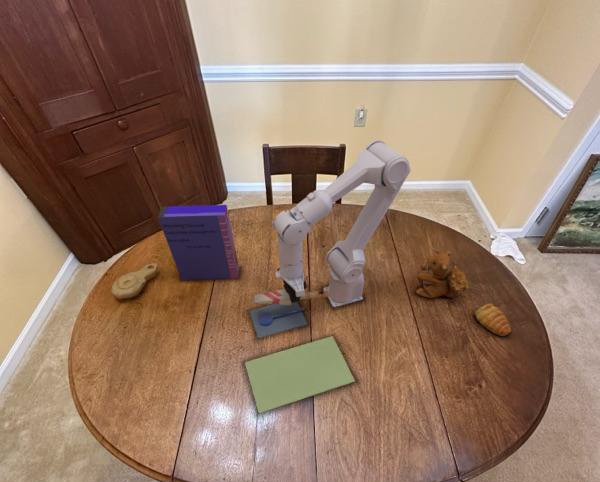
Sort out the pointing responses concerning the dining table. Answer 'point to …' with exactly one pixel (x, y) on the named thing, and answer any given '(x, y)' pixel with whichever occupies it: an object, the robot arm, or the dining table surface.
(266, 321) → the spoon
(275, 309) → the spoon pad
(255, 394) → the brush mat
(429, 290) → the stuffed squirrel
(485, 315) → the pastry
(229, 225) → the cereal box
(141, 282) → the oil lamp
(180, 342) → the dining table surface
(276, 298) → the paintbrush
